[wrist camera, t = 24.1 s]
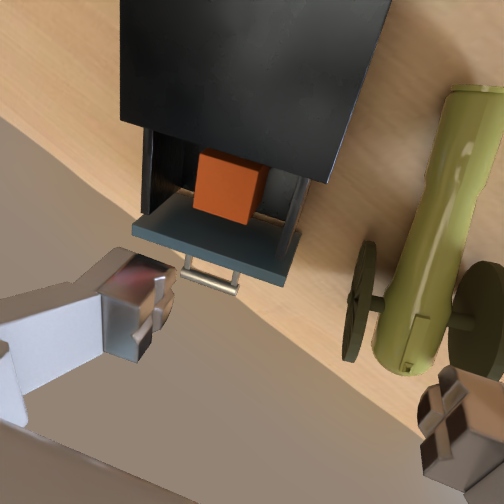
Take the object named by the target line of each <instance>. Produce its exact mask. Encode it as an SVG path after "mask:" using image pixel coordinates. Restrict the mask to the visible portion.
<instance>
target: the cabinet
mask: <svg viewBox="0 0 504 504" xmlns="http://www.w3.org/2000/svg"><path fill="white" fill-rule="evenodd" d="M391 2H392V0H120V120H121V121H124V122H127V123H131V124H134V125H137V126H140V127H144V128H147V129H150V130H153V131H156V132H160V133H163V134H166V135H169V136H173V137H176V138H179V139H182V140H186V141H189V142H192V143H195V144H198V145H202V146H205V147H208V148H211V149H215V150H218V151H221V152H224V153H227V154H231V155H234V156H237V157H240V158H244V159H247V160H250V161H253V162H257V163H260V164H263V165H266V166H269V167H273V168H276V169H279V170H282V171H286V172H289V173H292V174H295V175H298V176H302V177H305V178H308V179H311V180H315V181H318V182H321V183H324V184H327V183H328V181H329V178H330V175H331V172H332V170H333V167H334V164H335V161H336V158H337V155H338V153H339V150H340V147H341V144H342V141H343V138H344V136H345V133H346V130H347V127H348V124H349V121H350V119H351V116H352V113H353V110H354V107H355V104H356V102H357V99H358V96H359V93H360V90H361V87H362V84H363V82H364V79H365V76H366V73H367V70H368V67H369V65H370V62H371V59H372V56H373V53H374V50H375V48H376V45H377V42H378V39H379V36H380V33H381V31H382V28H383V25H384V22H385V19H386V16H387V14H388V11H389V8H390V5H391Z"/></svg>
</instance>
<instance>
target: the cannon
mask: <svg viewBox="0 0 504 504" xmlns="http://www.w3.org/2000/svg"><path fill="white" fill-rule="evenodd" d="M450 91H451V92H452V93H451V94H450V95H448V96H447V97H446V98H445V102H444V105H443V109H442V113H441V116H440V120H439V124H438V127H437V131H436V135H435V138H434V142H433V146H432V149H431V153H430V157H429V160H428V164H427V168H426V171H425V175H424V176H425V188H424V191H423V194H422V197H421V199H420V202H419V205H418V208H417V211H416V214H415V216H414V219H413V222H412V225H411V228H410V231H409V233H408V236H407V239H406V242H405V245H404V248H403V250H402V253H401V256H400V259H399V262H398V265H397V267H396V270H395V273H394V276H393V279H392V281H391V282H390V284H389V285H388V286H387V288H386V289H385V292H384V295H383V297H378V296H373V295H372V290H373V283H374V275H375V266H376V244H375V242H372V241H366V240H364V241H363V243H362V246H361V249H360V252H359V256H358V259H357V263H356V267H355V272H354V276H353V281H352V286H351V291H350V293H349V294H348V299H347V303H348V307H347V313H346V320H345V327H344V335H343V344H342V360H343V361H347V362H351V363H354V362H355V360H356V358H357V356H358V353H359V350H360V347H361V343H362V340H363V336H364V332H365V327H366V323H367V318H368V313H369V310H371V311H375V312H379V314H378V318H377V322H376V326H375V329H374V333H373V337H372V341H371V347H372V351H373V354H374V356H375V358H376V359H377V360H378V362H379V363H380V364H381V365H382V366H383V367H384V368H385V369H387V370H388V371H390V372H392V373H394V374H397V375H400V376H408V377H409V376H417V375H421V374H423V373H425V372H426V371H428V370H429V369H430V368H431V367H432V366H433V364H434V361H435V358H436V356H437V353H438V350H439V347H440V344H441V341H442V338H443V336H444V333H445V330H446V327H449V332H448V352H449V361H450V365H452V366H455V367H458V368H460V369H463V370H466V371H469V372H472V373H475V374H478V375H481V376H484V377H486V378H489V379H492V380H494V381H499V380H500V379H501V377H502V375H503V373H504V267H503V266H501V265H500V264H497V263H493V262H487V261H480V262H477V263H475V264H474V265H472V266H471V268H470V269H469V270H468V271H467V272H466V274H465V275H464V277H463V279H462V281H461V283H460V285H459V287H458V290H457V292H456V295H455V298H454V302H453V306H452V294H453V290H454V286H455V282H456V278H457V274H458V271H459V267H460V263H461V259H462V255H463V251H464V247H465V243H466V240H467V236H468V232H469V228H470V224H471V220H472V216H473V212H474V209H475V205H476V201H477V197H478V195H479V194H480V192H481V191H482V190H483V188H484V187H485V186H486V183H487V180H488V177H489V174H490V171H491V168H492V165H493V162H494V159H495V156H496V153H497V151H498V148H499V145H500V142H501V139H502V136H503V133H504V87H496V86H483V85H452V86H451V89H450Z"/></svg>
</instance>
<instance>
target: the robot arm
mask: <svg viewBox="0 0 504 504" xmlns="http://www.w3.org/2000/svg"><path fill="white" fill-rule="evenodd" d="M176 273H177V270H176V269H175V267H173V266H170V265H167V264H165V263H162V262H160V261H157V260H154V259H152V258H149V257H146V256H144V255H141V254H137V253H135V252H132V251H130V250H127V249H124V248H121V247H117V248H114V249H112V250H111V251H110V252H109V253H108V254H107V255H105V256H104V257H103V258H102V259H101V260H100V261H98V262H97V263H96V264H95V265H94V266H93V267H91V268H90V269H89V270H88V271H87V272H86V273H85V274H83V275H82V276H81V277H80V278H79V279H78V280H76V281H75V282H74V283H73V284H72V283H69V282H64V283H60V284H56V285H52V286H48V287H45V288H41V289H37V290H34V291H30V292H26V293H22V294H18V295H15V296H11V297H7V298H3V299H0V504H199V503H197V502H195V501H192V500H190V499H188V498H185V497H183V496H181V495H179V494H176V493H174V492H171V491H169V490H167V489H164V488H162V487H160V486H158V485H155V484H153V483H151V482H148V481H146V480H144V479H141V478H139V477H136V476H134V475H132V474H130V473H127V472H125V471H123V470H120V469H118V468H116V467H113V466H111V465H109V464H106V463H104V462H102V461H99V460H97V459H95V458H92V457H90V456H88V455H85V454H83V453H81V452H78V451H76V450H74V449H71V448H69V447H67V446H64V445H62V444H60V443H57V442H55V441H52V440H51V439H48V438H46V437H44V436H41V435H39V434H37V433H34V432H32V431H30V430H27V429H25V428H24V426H25V425H26V424H27V423H28V414H27V410H26V406H25V403H24V399H23V395H25V394H26V393H28V392H30V391H32V390H34V389H36V388H38V387H40V386H42V385H43V384H46V383H47V382H49V381H51V380H53V379H55V378H57V377H59V376H61V375H63V374H65V373H67V372H68V371H70V370H72V369H74V368H76V367H78V366H80V365H82V364H84V363H85V362H88V361H90V360H91V359H93V358H95V357H97V356H99V355H101V354H103V351H104V352H106V353H109V354H112V355H115V356H117V357H121V358H123V359H126V360H129V361H131V362H134V363H137V362H138V361H139V360H140V358H141V357H142V355H143V354H144V353H145V351H146V350H147V348H148V347H149V345H150V344H151V341H152V333H153V332H156V331H158V330H160V329H161V328H162V326H163V325H164V324H165V322H166V320H167V318H168V316H169V314H170V312H171V309H172V305H173V301H174V293H173V291H172V289H171V287H172V285H173V284H174V283H175V281H176ZM438 378H439V384H435V385H432V386H429V387H428V388H427V389H426V390H425V392H424V393H423V395H422V396H421V399H420V402H419V405H418V412H417V421H418V427H419V429H420V430H421V432H422V433H423V435H424V436H425V438H426V439H425V440H424V442H423V443H422V444H421V445H420V449H421V459H422V467H423V475H424V476H426V477H428V478H430V479H432V480H435V481H437V482H440V483H442V484H444V485H447V486H449V487H451V488H454V489H456V490H459V491H461V492H463V493H465V494H463V495H464V497H465V499H466V501H467V502H468V504H504V383H502V382H499V381H494V380H492V379H489V378H486V377H484V376H481V375H478V374H475V373H472V372H469V371H466V370H463V369H460V368H458V367H455V366H452V365H448V366H446V367H444V368H443V369H442V370H441V372H440V373H439V374H438Z"/></svg>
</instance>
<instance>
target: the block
mask: <svg viewBox="0 0 504 504" xmlns="http://www.w3.org/2000/svg"><path fill="white" fill-rule="evenodd" d="M269 168H270V167H269V166H266V165H263V164H260V163H257V162H253V161H250V160H247V159H244V158H240V157H237V156H234V155H231V154H227V153H224V152H221V151H218V150H215V149H211V148H206V149H205V150H204V151H202V152H201V153H200V155H199V163H198V171H197V179H196V186H195V194H194V202H193V208H196V209H199V210H202V211H205V212H208V213H211V214H214V215H217V216H220V217H223V218H226V219H229V220H232V221H235V222H238V223H241V224H244V225H247V224H248V222H249V220H250V219H251V217H252V216H253V214H254V212H255V211H256V209H257V208H258V206H259V204H260V203H261V201H262V197H263V193H264V189H265V185H266V180H267V176H268V172H269Z"/></svg>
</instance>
